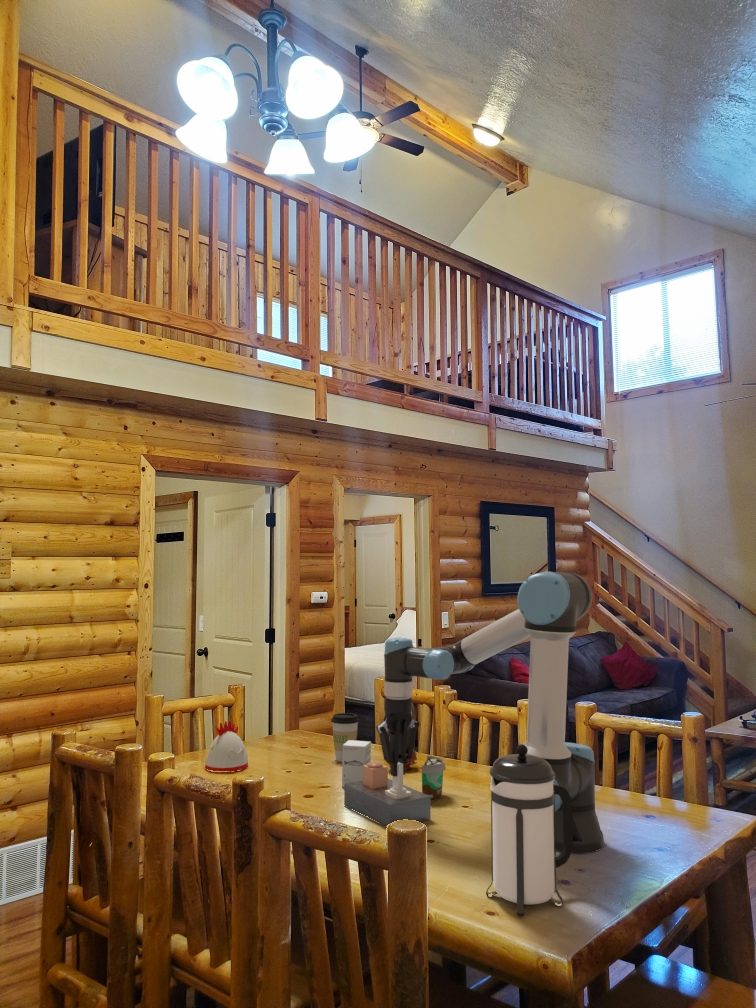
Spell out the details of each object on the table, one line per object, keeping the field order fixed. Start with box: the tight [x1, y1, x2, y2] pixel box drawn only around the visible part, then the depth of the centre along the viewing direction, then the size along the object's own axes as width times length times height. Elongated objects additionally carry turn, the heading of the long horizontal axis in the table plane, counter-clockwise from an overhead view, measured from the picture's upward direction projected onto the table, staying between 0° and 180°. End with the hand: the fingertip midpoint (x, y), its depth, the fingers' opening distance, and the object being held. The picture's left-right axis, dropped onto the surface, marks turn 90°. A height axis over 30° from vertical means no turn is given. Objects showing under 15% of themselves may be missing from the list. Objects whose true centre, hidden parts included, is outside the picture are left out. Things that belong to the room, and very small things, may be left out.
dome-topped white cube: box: [385, 787, 411, 799], centre depth 190 cm, size 5×5×7 cm
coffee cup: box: [330, 712, 360, 763], centre depth 251 cm, size 10×10×15 cm
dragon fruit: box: [385, 748, 417, 771], centre depth 238 cm, size 8×8×12 cm
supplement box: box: [341, 740, 372, 788], centre depth 220 cm, size 7×7×13 cm
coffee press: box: [485, 743, 573, 917], centre depth 145 cm, size 17×16×30 cm
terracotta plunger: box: [362, 761, 389, 789], centre depth 200 cm, size 5×5×7 cm
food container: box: [421, 755, 446, 802], centre depth 209 cm, size 12×6×10 cm, turn 168°
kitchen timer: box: [204, 720, 249, 771], centre depth 240 cm, size 14×14×15 cm
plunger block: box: [343, 778, 432, 828], centre depth 195 cm, size 22×13×6 cm, turn 34°
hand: (397, 788), depth 191 cm, fingers closed
